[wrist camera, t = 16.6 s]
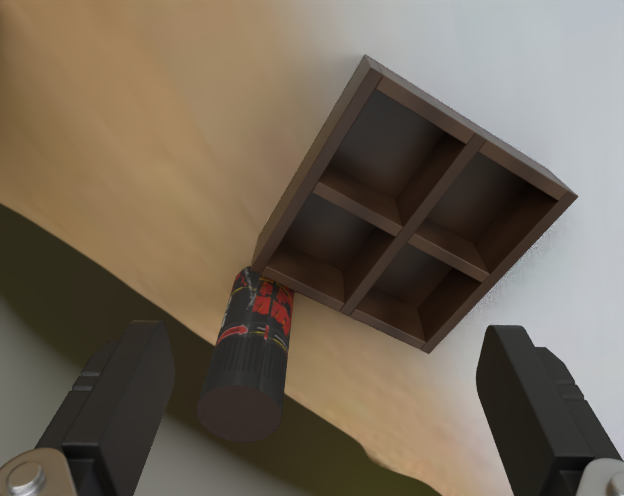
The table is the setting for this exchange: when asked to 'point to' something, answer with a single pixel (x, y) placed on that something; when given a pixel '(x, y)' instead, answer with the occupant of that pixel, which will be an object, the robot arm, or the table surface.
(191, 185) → the table surface
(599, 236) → the table surface
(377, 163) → the rack
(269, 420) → the deodorant
